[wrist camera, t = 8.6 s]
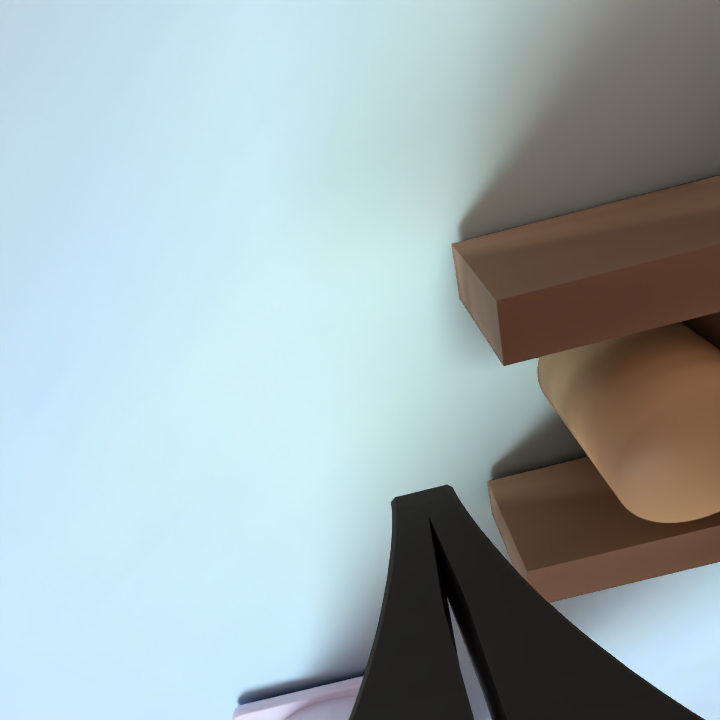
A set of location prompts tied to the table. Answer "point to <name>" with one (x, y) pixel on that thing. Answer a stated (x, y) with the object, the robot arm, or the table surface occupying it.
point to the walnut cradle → (583, 327)
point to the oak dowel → (645, 417)
